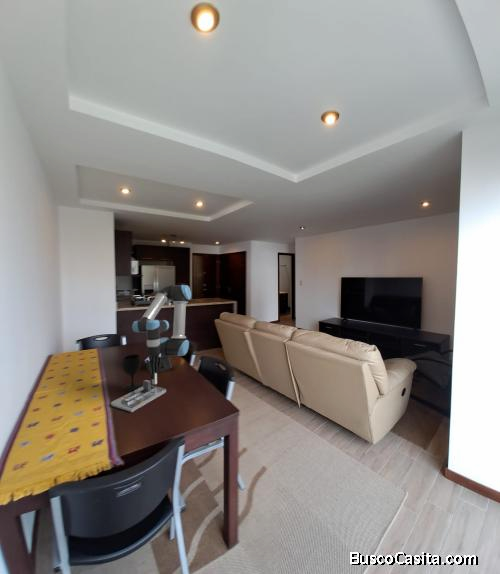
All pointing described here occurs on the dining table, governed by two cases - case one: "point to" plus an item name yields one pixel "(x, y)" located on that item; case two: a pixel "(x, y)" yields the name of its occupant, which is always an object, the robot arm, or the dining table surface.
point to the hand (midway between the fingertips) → (154, 383)
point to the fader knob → (146, 385)
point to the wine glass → (132, 370)
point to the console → (137, 398)
